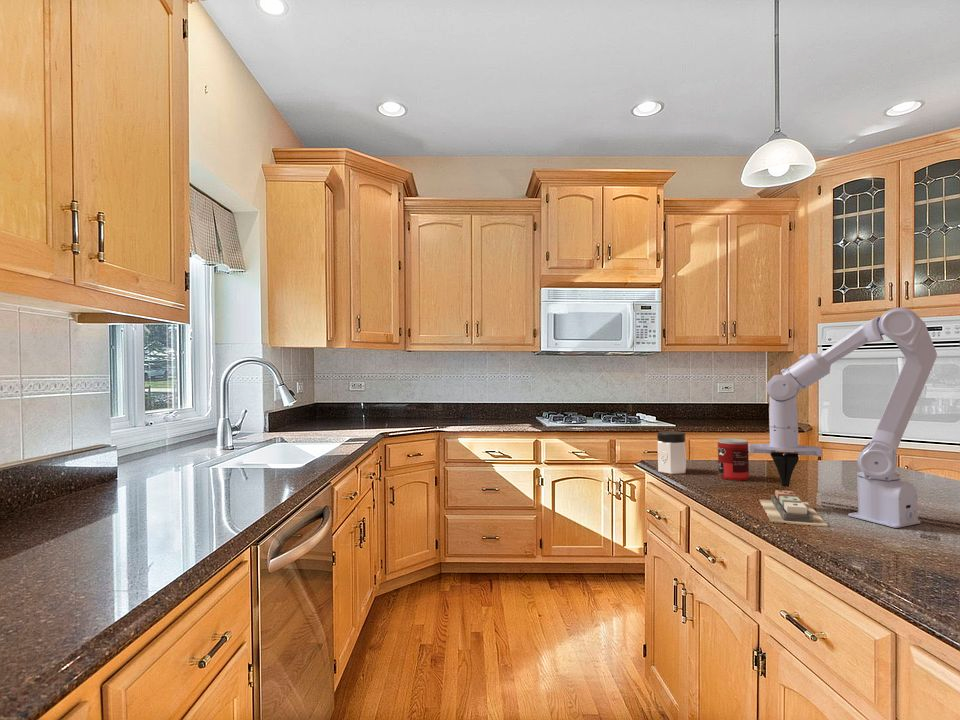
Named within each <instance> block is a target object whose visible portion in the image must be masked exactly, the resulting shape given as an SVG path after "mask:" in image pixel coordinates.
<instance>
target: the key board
mask: <svg viewBox="0 0 960 720" xmlns="http://www.w3.org/2000/svg"><path fill="white" fill-rule="evenodd" d="M758 502H759V503H760V505H761V506H763V507H762V508H763V510H764V512H765V513H767V514H766V515H767V517H768V519H769V521H770V522H772V523H773V522H774V523H775V524H783V523H786V524H785V525H795V524H796V525H795V526H797V525H798V526H808V525H810V526H811V527H821V526H822V528H824V527H825V528H829V527H828V526H829V525H828V523H827V522H826V521H825V520H824V519H823V518H822V517H821V516H820V515H819V513H817V511H816V510H815V509H814V508H813V506H811V505H810V504H809V502H807V501H801V503H803V504H804V505H805V506H806V507H807V514H794V513H787V512H786V510H785V509H784V506H782V505H781V503H780V500H778V499H777V498H776V496H775V494H771V495H770V499H759V500H758ZM810 526H809V527H810Z"/></svg>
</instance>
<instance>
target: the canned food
mask: <svg viewBox="0 0 960 720" xmlns="http://www.w3.org/2000/svg"><path fill="white" fill-rule="evenodd" d="M717 456H718V457H717V463H718V467H717V468H718V476H719V478H720V477H721V478H720V479H722V478H723V479H722V480H725V479H728V480H727V481H732V480H736V481H735V482H737V481H738V482H743V480H745V481H747V480H748V479H749V477H750V470H749V469H750V465H749V464H750V463H749V442H748V440H747V439H743V438H736V437H735V438H733V437H731V438H727V437H726V438H724V437H723V438H722V437H721V438H718V439H717Z"/></svg>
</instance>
